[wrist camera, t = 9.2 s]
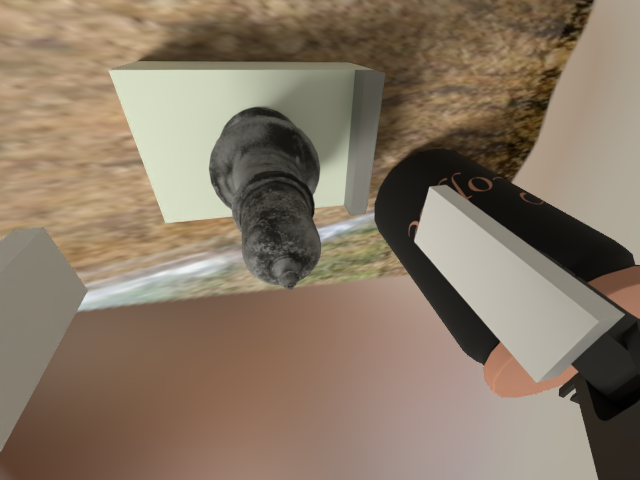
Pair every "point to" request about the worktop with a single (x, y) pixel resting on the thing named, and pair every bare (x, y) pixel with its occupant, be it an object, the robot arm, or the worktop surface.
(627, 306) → the coffee jar
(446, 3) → the worktop surface
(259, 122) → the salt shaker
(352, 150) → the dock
